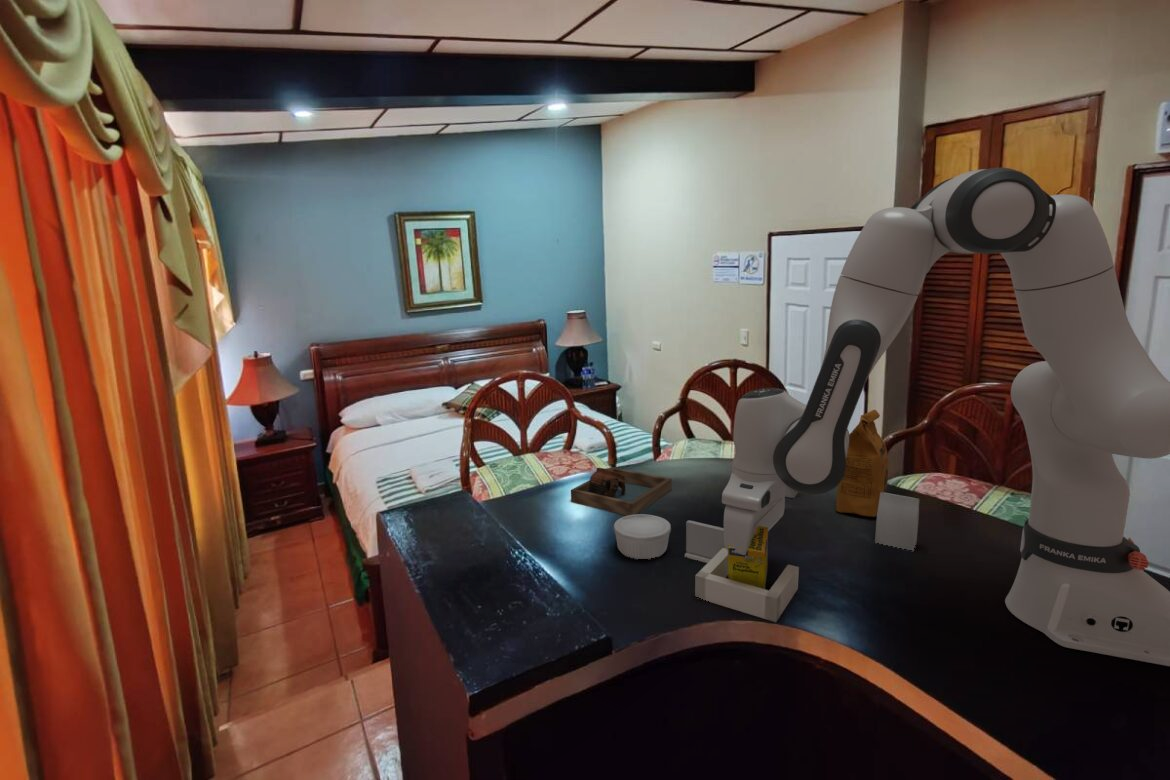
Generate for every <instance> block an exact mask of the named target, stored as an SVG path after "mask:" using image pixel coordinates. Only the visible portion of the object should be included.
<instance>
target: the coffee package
mask: <svg viewBox="0 0 1170 780" xmlns="http://www.w3.org/2000/svg"><path fill="white" fill-rule="evenodd" d="M880 416H881V415H880V413H879V412H878V411H877V409H872V410H870V411H868V412H866V413H863V414H862V415H860V419H859V422H858V424H857V425H856V426H855V428H854V429H853V430H852V431H851V432H849V436H850V442H849V448H848V452H847V457H846V470H845V474H844V477H843V479H842V480H841V482H840V483H839V484H838V485H837V493H836V494H837V495H836V503H835V504H836V505H835V510H836V511H837V512H838V513H841V514H842V513H846V514H855V515H860V516H862V517H873V518H874V517H877V512H878V505H879V498H880V493H881V492H884V493H887V488H888V481H889V462H890V461H889V454H888V450H887V447H886V444H885V442H884V439H882V437H881V436H880V434H879V433H878V430H877V426H876V423H875V420H877V419H879V418H880Z"/></svg>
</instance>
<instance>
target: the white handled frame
mask: <svg viewBox="0 0 1170 780" xmlns="http://www.w3.org/2000/svg"><path fill="white" fill-rule="evenodd" d="M686 557H687V559H690V560H695V561H697V560H698V562H702V563H706V564H705V565H704V566H703V567H702V568H701V569H700V570H699V571H698V572H697V573H696V574H695V579H694V582H695V583H694V585H695V586H694V597H695V596H696V597H699V598H701V599H700V600H702V599H703V600H702V601H705V600H706V602H708V601H709V602H710V603H711V604H715V605H719V606H722V607H725V608H729V609H732V610H734V611H739V612H741V613H744V614H748V615H751V616H755V617H758V618H761V619H764V620H768V621H770V622H774V623H777V622H778V620H779V619H780V617H781V615H782V614H783V612H784V611H785V610H786V607H787V606H788V605H789V603H790V602H791V600H792V599H793V598H794V595H795V594H796V593H797V591H798V589H799V574H800V573H799V571H800V570H799V569H800V566H795V565H792V564H787V565H786V566H785V568H784V569H783V570H782V573H781V574H780V575H779V576H778V578H777V579H776V580H775V582H774V583H773V584H772V586H771V587H770V589H769V590H768V589H766V588H765V589H762V588H759V587H755V586H752V585H748V584H744V583H741V582H737V581H734V580H730V579H729V578H727V577H728V576H729V574H728V551H727V549H725V548H722V549H721V550H720V551H719V552H718V553H717V554H716V555H715V556H714V557H713V558H710V557H706V556H702V555H698V554H695V553H691V552H687V551H686V552H685V553H684V558H686ZM696 597H695V598H696ZM699 598H698V599H699Z"/></svg>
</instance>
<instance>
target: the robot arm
mask: <svg viewBox="0 0 1170 780" xmlns="http://www.w3.org/2000/svg"><path fill="white" fill-rule="evenodd" d="M923 195H924V196H922V197H921V198H920V199H919V200H918V201H916V202H915V204H913V205H912V206H911V207H910V208H909V207H905V206H904V207H903V206H892V207H887V208H883V209H879V210H878V211H876V212H875V213H873V214H872V215H871V216H870V217H869V218H868V219H867V221H866V222H865V224H864V225H863V228H862V229H861V230H860V232H859V234H858V236H857V238H856V239H855V241H854V243H853V244H852V247H851V250H850V251H849V253H848V256H847V257H846V260H845V263H844V265H843V267H842V269H841V272H840V275H839V277H838V281H837V283H836V287H835V290H834V294H833V297H832V300H831V305H830V311H829V319H828V324H827V332H826V333H827V335H826V342H825V343H826V344H825V350H824V355H823V359H822V363H821V366H820V369H819V373H818V375H817V376H816V380H815V383H814V385H813V387H812V390H811V392H810V395H809V397H808V401H807V403H806V404H805V403H803V402H801V401H799V399H796V398H794V397H793V396H792V395H790V394H789V393H788V392H787V391H786V390H785V389H783V388H779V387H778V388H776V387H764V388H759V389H757V388H756V389H754V390H751V391H748V392H746V393H745V394H743V395H742V396H741V397H740V398H739V400H737V404H736V408H735V413H734V423H733V438H732V439H733V444H734V450H735V453H734V457H733V459H732V466H731V467H732V470H731V471H732V472H731V474H730V476H729V477H730V478H729V480H728V483H727V484H726V486H725V487H724V489H723V491H722V492H721V493H722V494H721V504H723V505H725V507H724V510H723V511H724V512H723V528H724V544H725V547H726V549H727V551H728V546H731V547H733V548H736V549H735V550H734V551H735V552H737V553H739V554H742V555H746V552H747V550H748V548H749V545H750V543H751V540H752V538H753V536H754V535H755V533H756V531H757V529H758V527H759V526H762V527H768V532H769V531H770V530H771V529H772V528H773V527H774V526H775V524H777V523H778V522H779V521H780V519H781V518H782V517H783V516H784V513H785V508H786V507H785V506H786V497H785V491H786V485H787V486H788V487H790V488H791V489H793V490H795V491H797V492H799V493H800V494H805V495H814V496H815V495H823V494H826V493H828V492H830V491H831V490H833V489H835V488H836V487H838V484H839V483H840V482H841V480H842V479H843V477H844V474H845V470H846V457H847V452H848V448H849V442H850V436H849V434H850V431H849V429H848V428H849V425H850V422H851V420H852V417H853V415H854V412H855V410H856V408H857V406H858V402H859V400H860V397H861V394H862V393H863V390H864V388H865V385H866V383H867V380H868V378H869V376H870V375H871V372H872V371H873V370H874V368H875V366H876V365H877V363H878V362H879V360H880V359H881V358H882V357H883V355H884V353H885V352H886V351H887V350H888V348H889V347H890V346H891V344H892V343H893V342H894V340H895V338H897V336H898V334H899V333H900V332H901V330H902V328H903V326H904V325H905V323H906V321H907V320H908V317H909V316H910V314H911V312H912V310H913V308H914V307H915V304H916V302H917V300H918V297H919V295H920V292H921V290H922V286H923V285H924V282H925V278H926V276H927V274H928V273H929V271H930V270H931V268H932V267H933V266H934V264H935V263H936V262H937V261H938V260H939V259H940V258H941V257H943V256H944V255H946V254H948V253H957V254H962V255H963V254H964V255H965V254H966V255H971V254H985V255H988V254H989V255H991V254H992V255H993V254H994V255H995V254H1000V255H1001V256H1002V257H1003V259H1004V260H1005V262H1006V265H1007V266H1008V268H1009V271H1010V279H1011V283H1012V286H1013V287H1012V288H1013V292H1014V296H1015V299H1016V304H1017V307H1018V311H1019V315H1020V316H1019V317H1020V320H1021V323H1022V327H1023V331H1024V335H1025V338H1026V340H1027V342H1029V344H1030V345H1031V346H1032V347H1033V348H1034V349H1035V350H1036V351H1037V352H1038V353H1039V354H1040V355H1041V356H1042V357H1043V360H1044V361H1042V360H1041V361H1037V362H1034V363H1031V364H1029V365H1028V366H1025V367H1024V368H1023V369H1021V370H1020V371H1019V372H1018V373H1017V375H1016V377H1014V379H1013V381H1012V384H1011V387H1010V398H1011V399H1010V400H1011V403H1012V404H1013V407H1014V408H1015V409H1016V411H1017V413H1018V414H1019V416H1020V419H1021V421H1022V424H1023V426H1024V431H1025V434H1026V439H1027V443H1028V448H1029V453H1030V459H1031V469H1032V482H1031V484H1032V485H1031V492H1030V493H1031V494H1030V505H1029V511H1028V512H1029V513H1028V518H1027V519H1026V520H1025V521H1024V525H1023V528H1022V533H1021V539H1020V540H1021V541H1020V555H1021V560H1020V562H1019V563H1020V564H1019V567H1018V570H1017V573H1016V576H1015V579H1014V582H1013V584H1012V586H1011V588H1010V590H1009V592H1008V594H1007V595H1006V597H1005V600H1004V603H1005V605H1006V608H1007V610H1008V611H1009V612H1010V613H1011V614H1012V615H1014V617H1015V618H1017V619H1019V620H1020V621H1022V622H1023V623H1024V624H1027V625H1028V626H1030V627H1032V628H1034V629H1035V630H1038V631H1040V632H1042V633H1043V634H1045V636H1046V637H1048V638H1049V639H1050V640H1052V641H1053V642H1054V643H1056V644H1057V645H1059V646H1061V647H1064V648H1068V649H1072V650H1073V649H1074V650H1079V651H1085V652H1090V653H1096V654H1100V655H1107V656H1110V657H1117V658H1121V659H1129V660H1133V661H1139V662H1143V663H1144V662H1145V663H1151V664H1155V665H1160V666H1165V667H1170V590H1168V588H1166V587H1165V586H1163V585H1162V584H1160V583H1159V582H1158V581H1157V580H1156V579H1154V578H1153V577H1152V576H1150V575H1149V574H1148V573H1147V572H1145V571H1144V570H1146V569H1148V568H1149V567H1150V564H1149V563H1150V562H1149V561H1148V558H1147V555H1145V554H1144V553H1142V552H1141V549H1140V547H1139V546H1138V545H1137V544H1135V542H1134V541H1133V539H1132V538H1131V537H1128V538H1126V537H1125V536H1124V533H1125V528H1126V519H1127V515H1128V509H1129V502H1130V496H1131V493H1130V487H1129V485H1128V481H1126V478H1125V477H1124V476H1123V475H1122V473H1121V472H1120V470H1119V468H1118V467H1117V465H1116V462H1115V460H1114V456H1113V455H1117V456H1124V457H1128V458H1129V457H1131V458H1139V459H1140V458H1141V459H1158V458H1159V459H1160V458H1163V457H1167V456H1168V455H1170V381H1169V380H1168V379H1167V378H1166V377H1165V376H1164V375H1163V374H1162V372H1161V371H1160V370H1159V369H1158V367H1157V366H1156V364H1155V363H1154V362H1153V360H1152V359H1151V357H1150V356H1149V354H1148V352H1147V351H1146V350H1145V348H1144V347H1143V345H1142V343H1141V342H1140V340H1139V338H1138V337H1137V334H1136V333H1135V332H1134V329H1133V327H1132V325H1131V323H1130V321H1129V319H1128V316H1127V313H1126V310H1125V306H1124V305H1125V304H1124V302H1123V298H1122V295H1121V290H1120V286H1119V285H1120V284H1119V282H1118V277H1117V272H1116V268H1115V264H1114V259H1113V256H1112V252H1111V249H1110V245H1109V242H1108V240H1107V237H1106V234H1105V231H1104V229H1103V226H1102V224H1101V222H1100V221H1099V217H1098V216H1097V214H1096V212H1095V210H1094V209H1093V206H1092V205H1091V203H1090V202H1089V201H1088V200H1087V199H1085V198H1084V197H1082V196H1080V195H1075V194H1068V193H1067V194H1062V193H1059V194H1051V195H1050V194H1049V193H1047V192H1046V191H1045V190H1044V189H1043V188H1041V186H1040V185H1039V183H1037V182H1036V181H1035V180H1034V179H1033V178H1031V176H1029V175H1028V174H1026V173H1024V172H1023V171H1020V170H1017V169H1013V168H1008V167H992V168H987V169H986V168H984V169H983V168H982V169H975V170H969V171H966V172H962V173H960V174H958V175H956V176H954V177H951V178H948V179H946V180H943V181H941V182H940V183H938V184H936V185H935V186H934V187H933V188H931V189H930V190H929V191H928V192H927V193H925V194H923Z"/></svg>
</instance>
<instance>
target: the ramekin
mask: <svg viewBox="0 0 1170 780" xmlns="http://www.w3.org/2000/svg"><path fill="white" fill-rule="evenodd" d="M671 527H672V526H671V523H670V522H669V521H668V520H667V519H666V518H663V517H661V516H657V515H653V514H643V513H642V514H641V513H640V514H639V513H638V514H636V515H629V516H627V515H624V516H622V517H620V518H618V519H617V520H616V521H615V522H614V524H613V531H614V534H615V539H616V543H617V544H616V546H617V549H618V551H620V553H621V554H622V555H624V556H625V557H628V558H629V557H630V558H629V559H633V558H634V560H638V559H648V560H652V559H651V558H654V559H656V558H655V557H657V558H660V557H661V556H662V555H663V554H664V553H665V552H666V551H667V549H668V543H669V538H670V533H671V531H672V528H671Z"/></svg>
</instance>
